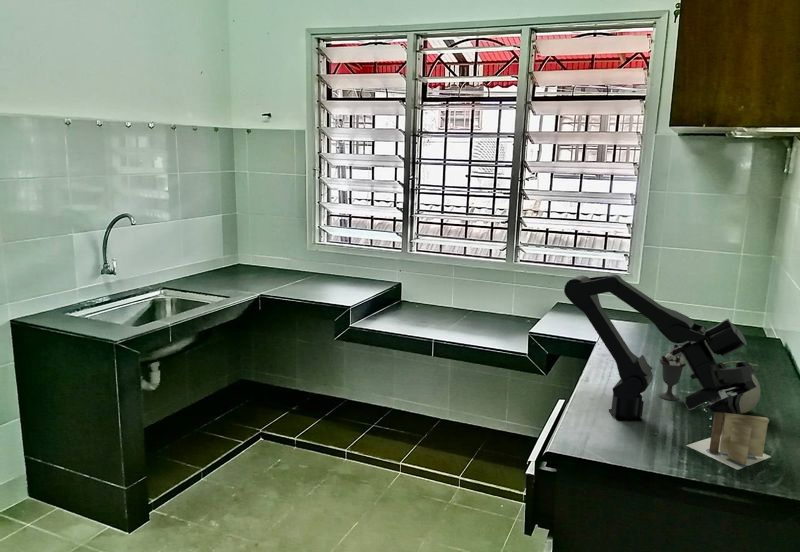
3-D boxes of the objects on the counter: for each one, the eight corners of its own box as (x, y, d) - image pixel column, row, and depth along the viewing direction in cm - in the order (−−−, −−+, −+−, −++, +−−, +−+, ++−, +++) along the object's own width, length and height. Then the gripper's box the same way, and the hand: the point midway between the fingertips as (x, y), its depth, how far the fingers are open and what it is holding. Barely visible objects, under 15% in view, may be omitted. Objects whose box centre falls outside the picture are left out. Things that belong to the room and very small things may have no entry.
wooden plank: (707, 451, 134) (712, 412, 132) (712, 449, 134) (717, 411, 133) (742, 467, 127) (748, 426, 125) (747, 465, 128) (753, 425, 126)
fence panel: (720, 452, 132) (725, 415, 131) (718, 449, 134) (723, 412, 132) (763, 457, 130) (769, 420, 129) (761, 454, 132) (766, 417, 130)
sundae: (683, 396, 166) (690, 344, 163) (679, 404, 160) (686, 350, 158) (658, 390, 169) (664, 339, 167) (653, 398, 164) (659, 345, 161)
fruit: (712, 399, 165) (719, 346, 162) (760, 411, 157) (768, 356, 155) (702, 410, 157) (710, 355, 154) (752, 423, 149) (761, 366, 147)
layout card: (686, 446, 136) (686, 445, 136) (719, 435, 142) (719, 434, 142) (737, 470, 126) (737, 469, 126) (771, 457, 132) (771, 456, 132)
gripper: (706, 355, 128) (747, 424, 121) (755, 344, 137) (796, 408, 131) (668, 376, 136) (705, 442, 130) (717, 365, 146) (753, 426, 139)
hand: (741, 429), depth 132 cm, fingers closed
